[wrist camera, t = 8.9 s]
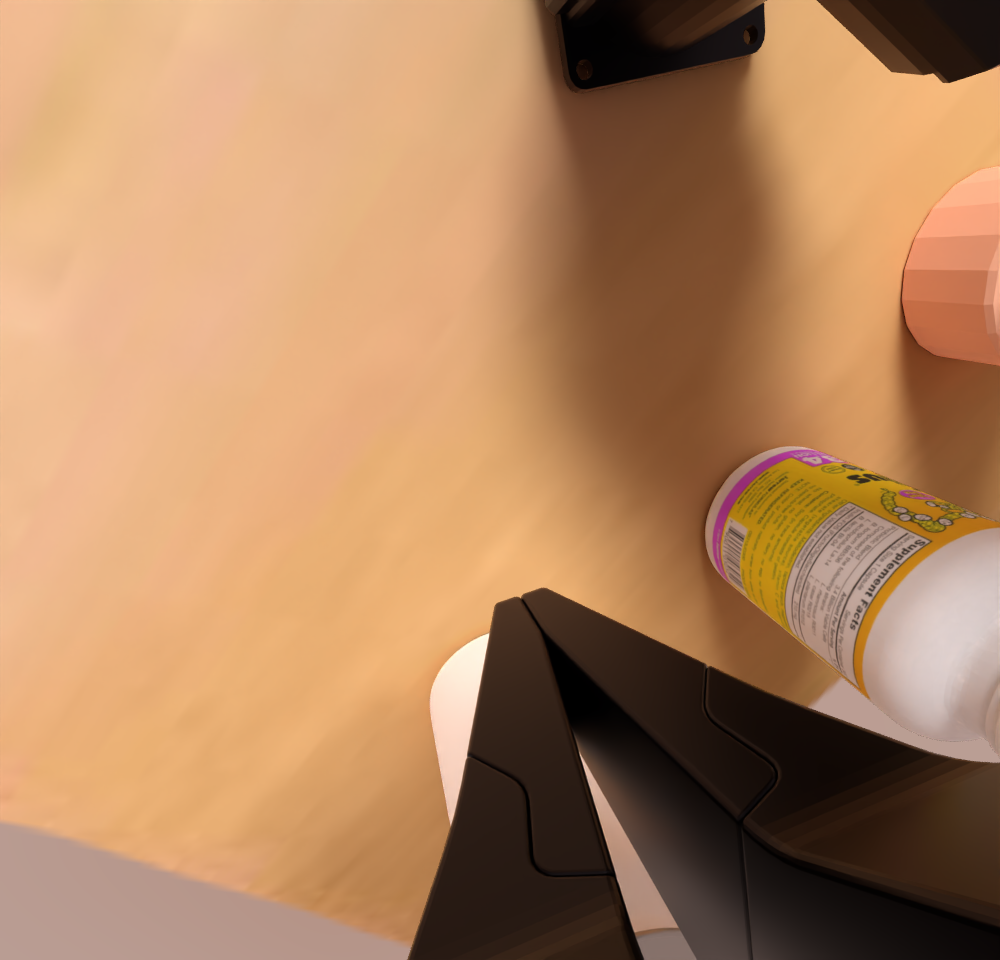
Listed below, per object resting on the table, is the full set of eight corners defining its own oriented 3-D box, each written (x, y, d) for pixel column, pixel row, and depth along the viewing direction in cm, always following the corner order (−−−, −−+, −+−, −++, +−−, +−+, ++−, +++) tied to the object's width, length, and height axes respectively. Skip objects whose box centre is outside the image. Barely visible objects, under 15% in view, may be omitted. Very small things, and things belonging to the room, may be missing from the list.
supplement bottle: (858, 492, 26) (1274, 680, 14) (761, 605, 27) (1077, 866, 15) (772, 409, 23) (1196, 555, 12) (667, 536, 24) (963, 790, 13)
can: (526, 761, 27) (651, 1104, 16) (400, 726, 24) (444, 1102, 13) (600, 649, 26) (790, 937, 15) (475, 601, 23) (590, 902, 12)
